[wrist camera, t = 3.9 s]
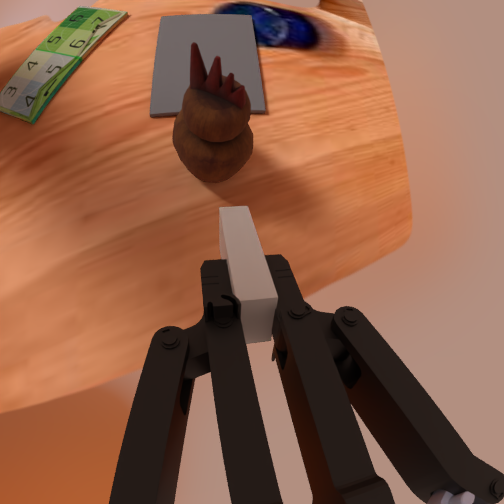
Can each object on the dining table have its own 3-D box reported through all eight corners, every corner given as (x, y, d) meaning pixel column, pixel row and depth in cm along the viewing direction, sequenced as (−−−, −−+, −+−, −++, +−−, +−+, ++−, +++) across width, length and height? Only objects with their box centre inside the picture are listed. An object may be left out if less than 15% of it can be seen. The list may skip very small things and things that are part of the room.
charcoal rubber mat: (264, 113, 30) (265, 110, 29) (150, 117, 28) (149, 114, 27) (250, 18, 31) (251, 15, 31) (161, 19, 29) (161, 16, 29)
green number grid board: (129, 17, 29) (81, 10, 28) (127, 10, 28) (79, 5, 27) (35, 126, 26) (-6, 110, 25) (30, 121, 24) (-10, 105, 23)
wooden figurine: (165, 154, 27) (144, 47, 13) (210, 121, 29) (224, 9, 14) (210, 203, 28) (223, 119, 13) (255, 167, 29) (303, 70, 14)
